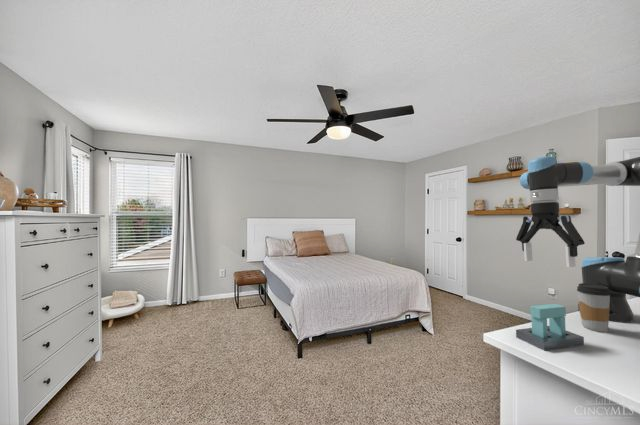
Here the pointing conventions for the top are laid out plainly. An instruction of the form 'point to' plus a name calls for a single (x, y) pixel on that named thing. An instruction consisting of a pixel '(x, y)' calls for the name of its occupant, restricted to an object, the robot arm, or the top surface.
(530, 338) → the grey slotted slab
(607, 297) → the coffee cup
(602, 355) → the top surface
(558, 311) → the teal u-shaped block
